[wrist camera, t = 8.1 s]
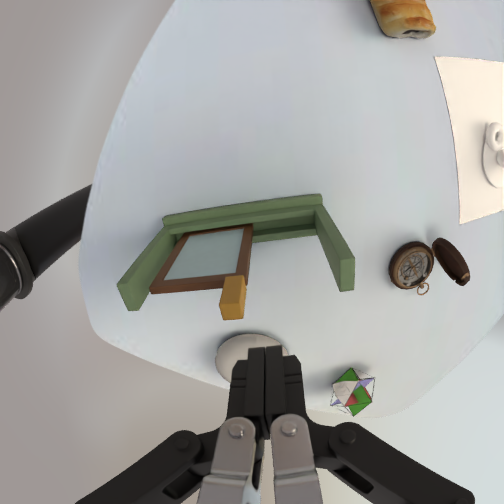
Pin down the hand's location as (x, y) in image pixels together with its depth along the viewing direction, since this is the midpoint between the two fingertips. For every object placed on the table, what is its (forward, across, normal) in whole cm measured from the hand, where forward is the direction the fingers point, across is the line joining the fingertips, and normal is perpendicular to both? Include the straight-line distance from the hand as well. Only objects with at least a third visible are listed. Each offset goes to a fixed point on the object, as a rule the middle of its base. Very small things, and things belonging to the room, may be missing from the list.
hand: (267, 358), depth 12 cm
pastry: (+18, -17, -22) cm, 33 cm away
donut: (+18, +4, +19) cm, 27 cm away
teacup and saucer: (+18, -32, -8) cm, 38 cm away
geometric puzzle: (+18, -10, +27) cm, 34 cm away
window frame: (+18, +2, 0) cm, 18 cm away
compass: (+18, -18, +8) cm, 26 cm away
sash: (+17, +5, 0) cm, 17 cm away
